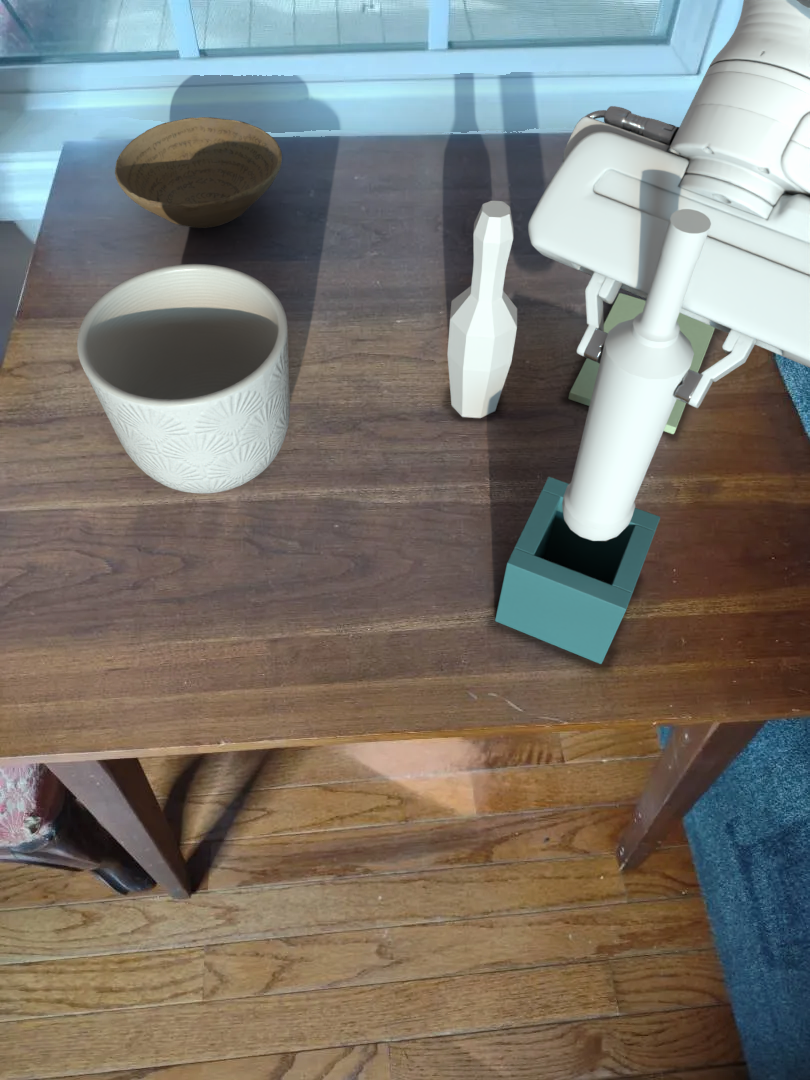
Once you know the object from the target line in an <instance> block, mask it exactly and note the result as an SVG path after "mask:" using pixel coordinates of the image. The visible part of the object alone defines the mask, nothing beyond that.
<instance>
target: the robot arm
mask: <svg viewBox="0 0 810 1080" xmlns="http://www.w3.org/2000/svg"><path fill="white" fill-rule="evenodd" d="M598 119H603V121H601V120H598ZM570 134H571V135H570V136H569V139H568V141H567V143H566V145H565V148H564V149H563V153H562V163H561V164H560V165H559V167H558V169H557V171H556V172H555V174H554V175H553V177H552V179H551V180H550V182H549V183H548V185H547V186H546V189H545V190H544V192H543V194H542V195H541V196H540V199H539V201H538V203H537V205H536V207H535V208H534V210H533V212H532V215H531V216H530V218H529V221H528V223H527V230H528V236H529V240H530V244H531V246H532V247H533V248H534V249H535V250H536V251H537V252H538V253H540V254H541V255H542V256H544V257H546V258H548V259H551V260H553V261H555V262H557V263H560V264H562V265H564V266H567V267H570V268H572V269H575V270H577V271H579V272H582V273H583V274H586V275H589V276H590V279H589V281H588V284H587V286H586V288H585V290H584V293H585V313H586V324H587V325H588V326H587V327H586V329H585V332H584V334H583V335H582V337H581V339H580V342H579V344H578V346H577V348H576V354H577V355H580V356H582V357H584V358H586V359H587V358H588V359H590V360H593V361H595V362H597V363H599V364H600V360H601V356H602V352H603V348H604V344H605V340H606V338H607V335H608V333H606V332H604V322H605V321H604V303H607V304H608V305H613V304H614V302H615V300H616V298H617V296H618V294H619V293H620V291H621V290H624V291H627V292H629V293H630V294H631V293H632V294H634V295H636V296H638V297H640V298H643V299H644V300H646V299H647V296H648V293H649V290H650V286H651V283H652V280H653V277H654V273H655V270H656V267H657V264H658V260H659V257H660V254H661V247H662V244H663V240H664V237H665V234H666V230H667V227H668V224H669V221H670V217H671V215H672V214H673V213H674V212H675V211H678V210H682V209H692V210H696V211H699V212H701V213H703V214H705V215H706V216H707V217H708V218H709V219H710V222H711V226H710V229H709V232H708V235H707V237H706V240H705V243H704V246H703V249H702V252H701V255H700V258H699V260H697V263H696V266H695V269H694V272H693V275H692V277H691V280H690V283H689V286H688V289H687V292H686V295H685V298H684V301H683V304H682V307H681V309H680V312H679V313H681V314H683V315H686V316H688V317H691V318H693V319H695V320H698V321H700V322H702V323H705V324H707V325H710V326H712V327H714V328H715V329H717V330H720V331H722V332H724V333H727V334H728V335H727V336H726V338H725V340H724V342H723V344H722V345H721V347H722V350H723V353H724V354H725V356H724V357H723V358H721V359H720V360H718V361H717V362H715V363H714V364H712V365H711V366H709V367H708V368H707V369H705V370H703V371H702V372H701V373H700V372H698V373H697V372H695V371H692V370H690V369H688V371H687V372H686V374H685V375H684V377H683V378H682V382H683V384H681V385H679V386H678V388H677V390H676V392H675V394H674V397H675V398H676V399H678V400H680V401H682V402H684V403H686V405H689V406H691V407H694V408H696V409H699V407H700V406H701V404H702V402H703V401H704V399H705V398H706V396H707V394H708V392H709V390H710V388H711V386H712V384H713V382H714V383H716V382H718V381H719V380H720V379H722V378H723V377H725V376H727V375H728V374H730V373H731V372H733V371H735V370H736V369H738V368H739V367H740V366H742V365H744V364H745V363H746V362H747V360H748V358H749V356H750V354H751V353H752V350H753V349H754V347H755V346H757V347H760V348H762V349H763V350H766V351H769V352H772V353H774V354H776V355H778V356H781V357H783V358H785V359H788V360H790V361H793V362H795V363H797V364H800V365H802V366H805V367H807V368H809V369H810V0H743V2H742V7H741V11H740V16H739V20H738V22H737V24H736V27H735V29H734V31H733V33H732V34H731V36H730V38H729V39H728V41H727V42H726V43H725V45H724V46H723V47H722V48H721V50H720V51H719V52H718V53H717V54H716V55H715V57H714V58H713V59H712V61H711V63H710V64H709V65H708V68H707V70H706V72H705V74H704V76H703V78H702V81H701V82H700V83H699V86H698V89H697V90H696V92H695V94H694V96H693V99H692V101H691V103H690V105H689V107H688V109H687V111H686V113H685V115H684V117H683V118H682V121H681V123H680V125H679V126H676V125H674V124H671V123H668V122H667V123H666V122H664V121H662V120H659V119H656V118H652V117H646V116H641V115H638V114H635V113H633V112H632V111H631V110H629V109H627V108H624V107H621V106H616V105H610V106H608V107H607V109H599V110H594V111H592V112H590V113H587V114H586V115H585V116H583V117H581V118H580V119H579V120H578V122H577V123H576V124H575V126H574V128H573V130H572V132H571V133H570Z"/></svg>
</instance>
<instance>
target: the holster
mask: <svg viewBox="0 0 810 1080" xmlns="http://www.w3.org/2000/svg"><path fill="white" fill-rule="evenodd" d="M569 484H570V483H568V482H565V481H562V480H559V479H557V478H554V477H553V476H548V477H547V479H546V481H545V483H544V485H543V487H542V489H541V491H540V493H539V495H538V497H537V500H536V502H535V504H534V505H533V508H532V510H531V511H530V514H529V515H528V518H527V520H526V523H525V525H524V527H523V528H522V531H521V532H520V534H519V537H518V539H517V541H516V544H515V545H514V548H513V550H512V552H511V553H510V556H509V558H508V560H507V562H506V567H505V571H504V576H503V580H502V586H501V590H500V595H499V599H498V604H497V609H496V614H495V618H494V622H496V623H499V624H502V625H503V626H506V627H509V628H511V629H514V630H517V631H518V632H521V633H523V634H526V635H528V636H531V637H532V638H535V639H538V640H541V641H543V642H545V643H548V644H550V645H552V646H555V647H558V648H559V649H562V650H565V651H568V652H570V653H572V654H575V655H578V656H580V657H582V658H585V659H587V660H589V661H591V662H594V663H596V664H598V665H602V664H603V662H604V660H605V657H606V655H607V653H608V651H609V649H610V647H611V644H612V642H613V640H614V638H615V636H616V633H617V631H618V629H619V627H620V625H621V622H622V620H623V618H624V616H625V614H626V612H627V609H628V606H629V604H630V601H631V598H632V596H633V593H634V590H635V588H636V586H637V582H638V580H639V577H640V575H641V571H642V569H643V566H644V563H645V561H646V558H647V555H648V552H649V551H650V548H651V544H652V542H653V540H654V539H653V538H654V536H655V534H656V531H657V528H658V525H659V523H660V520H661V516H659V515H657V514H654V513H651V512H648V511H646V510H644V509H643V510H642V509H640V508H638V507H635V509H634V512H633V516H632V518H631V521H630V523H629V524H628V526H627V527H626V528H625V529H624V530H623V531H622V532H621V533H620V534H619V535H618V536H617V537H614V538H612V539H609V540H606V541H592V540H589V539H586V538H583V537H580V536H579V535H577V534H576V533H575V532H573V531H572V530H571V529H570V528H569V526H568V525H567V523H566V522H565V520H564V515H563V508H562V502H563V497H564V494H565V491H566V488H567V486H568V485H569Z"/></svg>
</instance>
